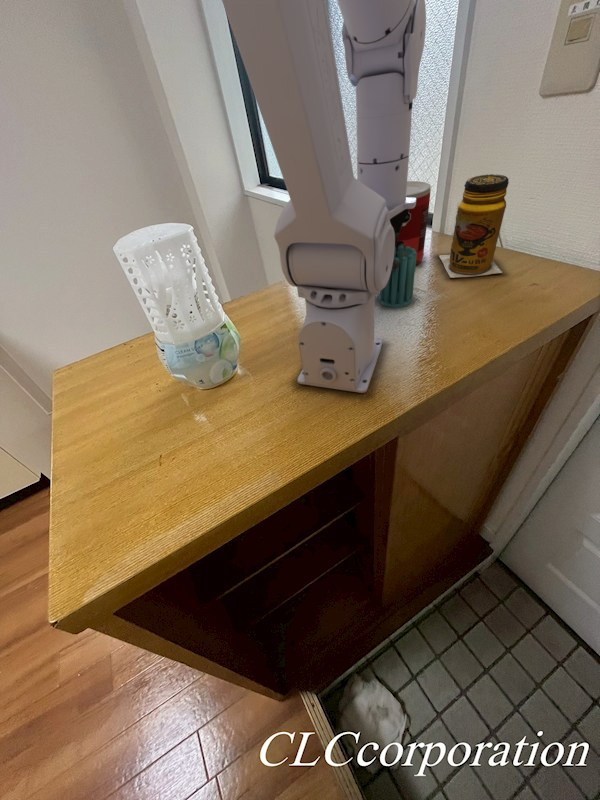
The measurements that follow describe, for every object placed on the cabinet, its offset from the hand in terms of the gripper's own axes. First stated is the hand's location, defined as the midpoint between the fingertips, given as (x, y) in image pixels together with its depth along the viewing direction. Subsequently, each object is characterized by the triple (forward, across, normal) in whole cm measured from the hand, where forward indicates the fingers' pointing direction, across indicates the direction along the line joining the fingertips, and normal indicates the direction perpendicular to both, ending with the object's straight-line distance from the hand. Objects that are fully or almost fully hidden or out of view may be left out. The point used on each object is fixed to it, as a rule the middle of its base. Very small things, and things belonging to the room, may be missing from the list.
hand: (379, 274), depth 48 cm
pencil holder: (0, 0, -5) cm, 5 cm away
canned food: (+4, +13, -1) cm, 14 cm away
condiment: (+4, +12, -12) cm, 17 cm away
